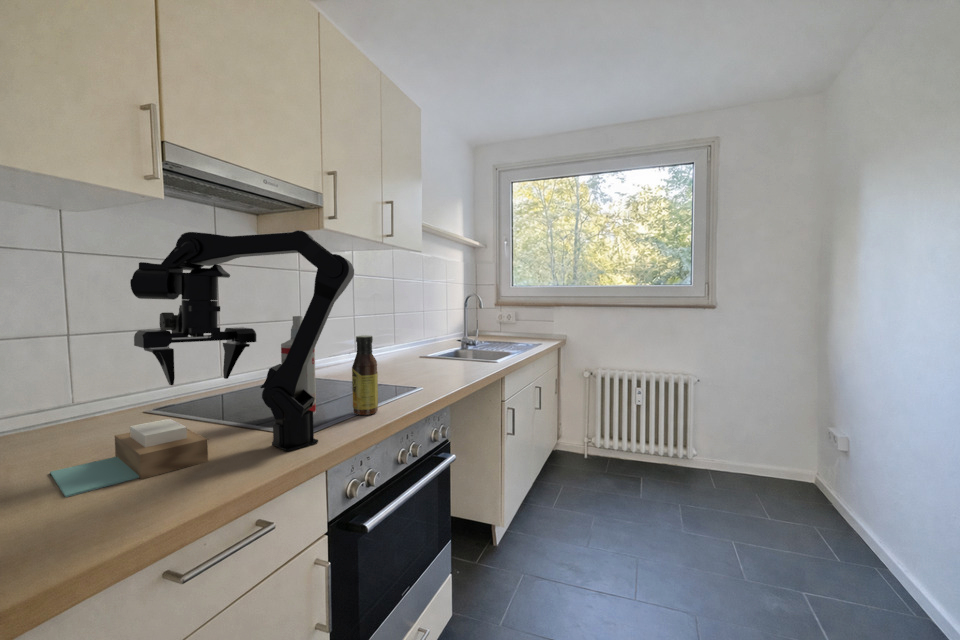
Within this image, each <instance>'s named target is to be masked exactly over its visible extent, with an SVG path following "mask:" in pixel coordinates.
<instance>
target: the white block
mask: <svg viewBox="0 0 960 640" xmlns="http://www.w3.org/2000/svg"><path fill="white" fill-rule="evenodd" d="M187 429H188V427H187V426H185V425H184V424H181V423H180V422H178V421H175V420H173V419H171V418H166V419H162V420H156V421H150V422H145V423H140V424H134V425H130V426H129V431H130V432H129V433H130V437H131V438H133V439H134V440H135V441H137V442H138V443H140V444H141V445H142V446H144V447H150V446H154V445H159V444H163V443H168V442H172V441H176V440H181V439H185V438H187Z"/></svg>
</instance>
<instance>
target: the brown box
mask: <svg viewBox="0 0 960 640" xmlns="http://www.w3.org/2000/svg"><path fill="white" fill-rule="evenodd" d="M208 446H209V445H208V438H206V437H204V436H202V435H200V434H198V433H196V432H195V431H192V430H190V429H188V428H187V438H185V439H181V440H176V441H172V442H168V443H163V444H159V445H154V446H150V447H144V446H142V445H141V444H140V443H138V442H137V441H135V440H134V439H133V438H131V437H130V432H126V433H121V434H120V433H119V434H116V435H114V450H115V451H114V453H115V456H114V457H118V458H119V459H120V460H122V461H123V462H124V463H125V464H126V465H127V466H128V467H130V468H131V469H132V470H133V471H134V472H135V473H136V474H138V475H139V478H138V479H140V480H144V479H147V478H151V477H155V476H158V475H162V474H166V473H169V472H173V471H177V470H180V469H185V468H187V467H191V466H195V465H199V464H203V463H206V462H209V449H208V448H209V447H208Z"/></svg>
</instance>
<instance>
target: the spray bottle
mask: <svg viewBox="0 0 960 640" xmlns="http://www.w3.org/2000/svg"><path fill="white" fill-rule="evenodd" d="M303 318H304V317H303V316H301V315H292V325H291V328H290V339H289V340H286V341H284V342H281V344H280V353H281V354H280V357H281V358H280V359H281V362H280V364H283V362H284V361H285V359H286V357H287V355H288V352H289V350H290V348H291V345H292V343H293V341H294V339H295V336H296V334H297V332H298V330H299V327H300V325H301V323H302V320H303ZM315 348H316V347H315ZM315 348H314V350H313V353H312V355H311V357H310V359H309V362H308V364H307V370H306V380H305V384H304V388H303V389H305V390H306V391H307V392H308V393H309V394H310V395H312V396H313V397H314V398H315V400H314V403H313V406H312V408H310V409H309V410H310V411H313V415H314V414H315V413H316V414H317V401H316V400H317V398H316V395H317V394H316V352H315ZM316 414H315V415H316ZM315 415H314V416H315Z"/></svg>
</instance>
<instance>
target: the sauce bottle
mask: <svg viewBox="0 0 960 640" xmlns="http://www.w3.org/2000/svg"><path fill="white" fill-rule="evenodd" d="M373 340H374V339H373V335H367V334H365V335H364V334H362V335H357V336H356V337H355V342H356V354H355V358H354V361H353V363H352V366H351V375H352V376H351V382H352V384H351V385H352V386H351V387H352V408H353V414H355V413H356V414H359V415H358V416H371V414H372V415H374V414H376V413H377V412H378V406H379V386H378V385H379V384H378V381H379V380H378V379H379V378H378V377H379V376H378V375H379V374H378V361H377V359H376V357H374V355H373ZM356 414H355V415H356Z"/></svg>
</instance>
